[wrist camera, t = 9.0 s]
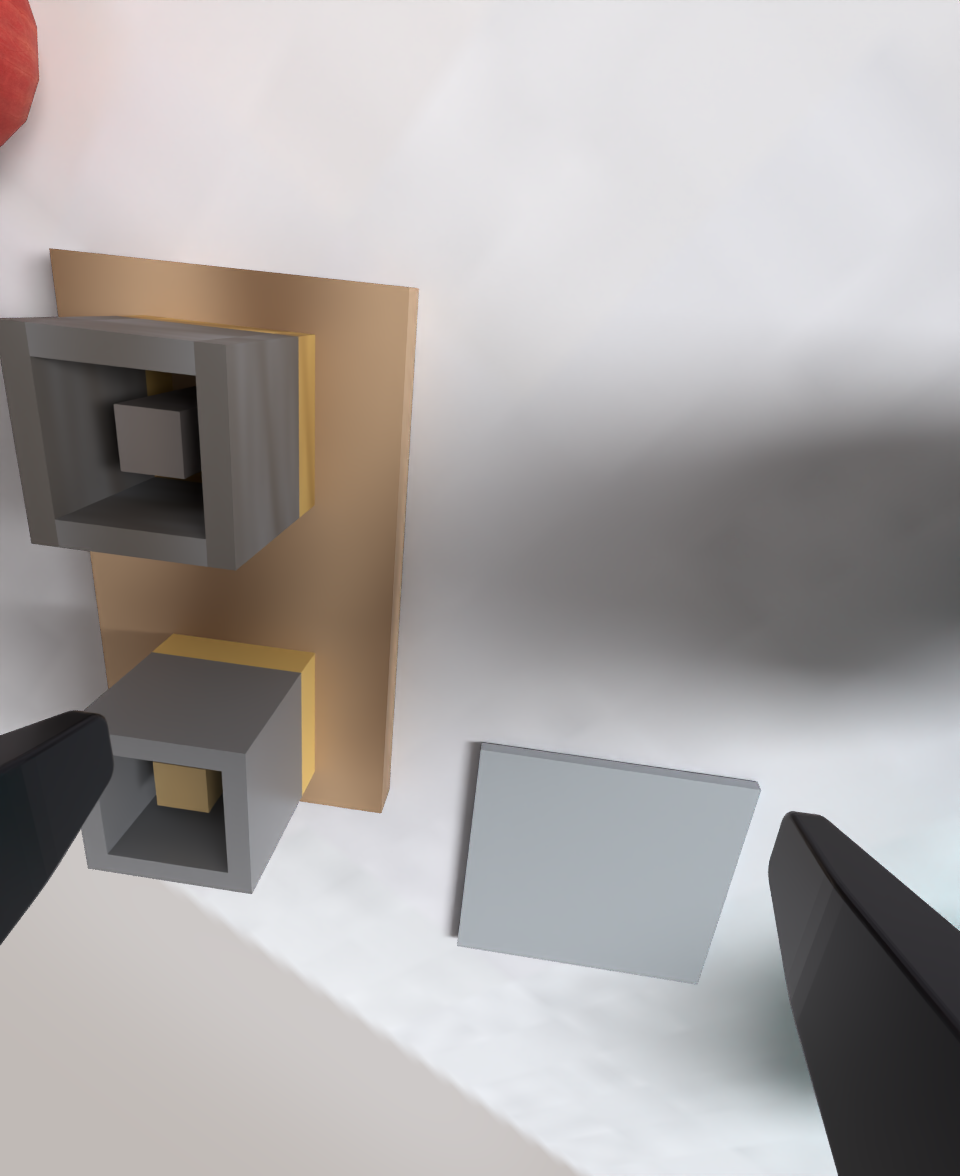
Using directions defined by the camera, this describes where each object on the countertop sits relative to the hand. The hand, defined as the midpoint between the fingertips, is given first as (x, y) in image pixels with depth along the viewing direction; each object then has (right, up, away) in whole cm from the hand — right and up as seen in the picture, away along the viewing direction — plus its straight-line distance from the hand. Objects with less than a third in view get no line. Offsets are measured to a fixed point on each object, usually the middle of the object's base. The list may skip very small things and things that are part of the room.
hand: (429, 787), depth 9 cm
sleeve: (-7, -1, +12) cm, 14 cm away
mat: (+5, -7, +15) cm, 17 cm away
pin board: (-6, +4, +12) cm, 14 cm away
